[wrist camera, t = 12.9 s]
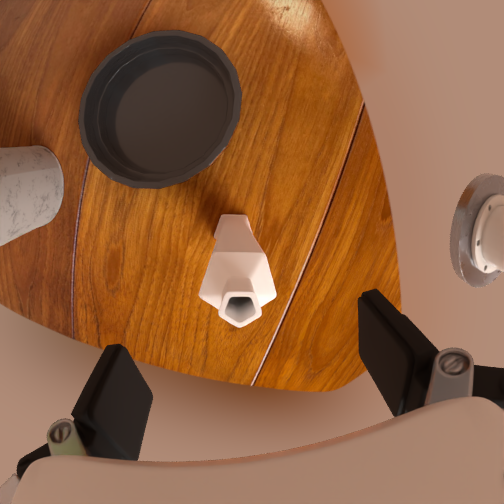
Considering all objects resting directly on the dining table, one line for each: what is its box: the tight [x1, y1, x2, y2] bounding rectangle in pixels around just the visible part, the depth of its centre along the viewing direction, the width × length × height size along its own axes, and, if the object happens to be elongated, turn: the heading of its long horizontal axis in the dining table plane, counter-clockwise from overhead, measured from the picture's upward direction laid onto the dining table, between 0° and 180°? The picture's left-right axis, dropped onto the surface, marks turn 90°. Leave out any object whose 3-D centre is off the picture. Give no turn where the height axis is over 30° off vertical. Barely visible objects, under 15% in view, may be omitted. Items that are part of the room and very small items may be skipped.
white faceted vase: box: [199, 214, 276, 327], centre depth 21 cm, size 5×4×15 cm
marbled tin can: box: [0, 146, 64, 246], centre depth 18 cm, size 10×10×12 cm
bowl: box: [78, 30, 242, 189], centre depth 21 cm, size 14×14×4 cm
